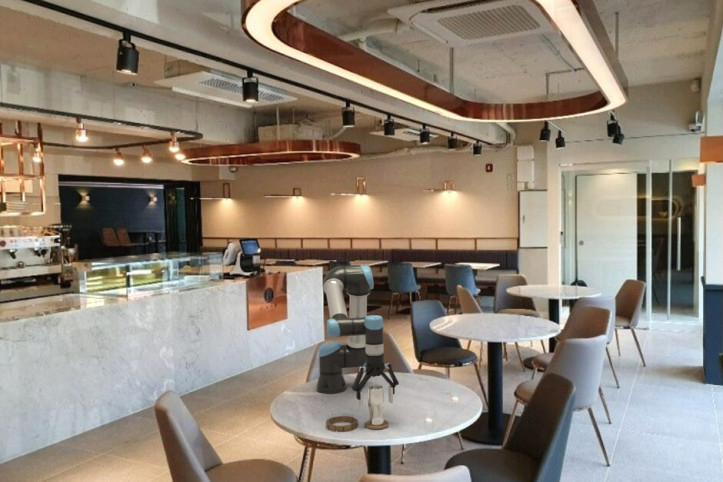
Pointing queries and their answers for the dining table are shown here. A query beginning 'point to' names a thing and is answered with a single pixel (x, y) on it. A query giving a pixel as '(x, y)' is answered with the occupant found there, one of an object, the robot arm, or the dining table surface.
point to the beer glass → (375, 404)
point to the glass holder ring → (342, 419)
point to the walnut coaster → (376, 426)
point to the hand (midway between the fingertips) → (376, 404)
